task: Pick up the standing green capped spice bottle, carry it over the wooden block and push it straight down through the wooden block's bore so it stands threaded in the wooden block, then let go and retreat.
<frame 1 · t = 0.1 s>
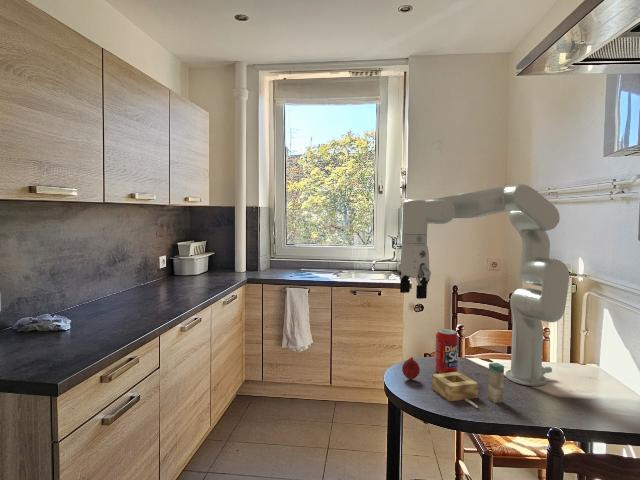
hand: (412, 295, 128), 31 cm above the table, fingers open, 9 cm apart
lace: (471, 404, 123), on the table
onion: (410, 380, 141), on the table
wooden block: (453, 392, 131), on the table
soda can: (445, 372, 149), on the table
green capped spice bottle: (495, 400, 126), on the table
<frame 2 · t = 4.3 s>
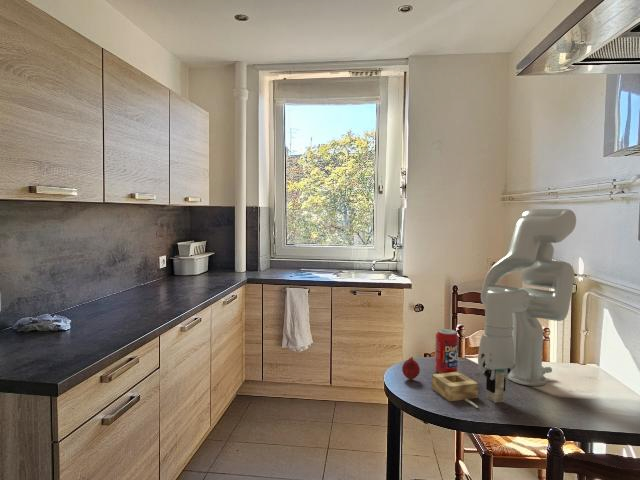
hand: (495, 389, 126), 3 cm above the table, fingers closed on green capped spice bottle, 3 cm apart
green capped spice bottle: (495, 400, 126), on the table, touching gripper
everything else where it was.
when the fingers open (5 cm above the table, at t = 9.2 s): green capped spice bottle stays where it is, on the table.
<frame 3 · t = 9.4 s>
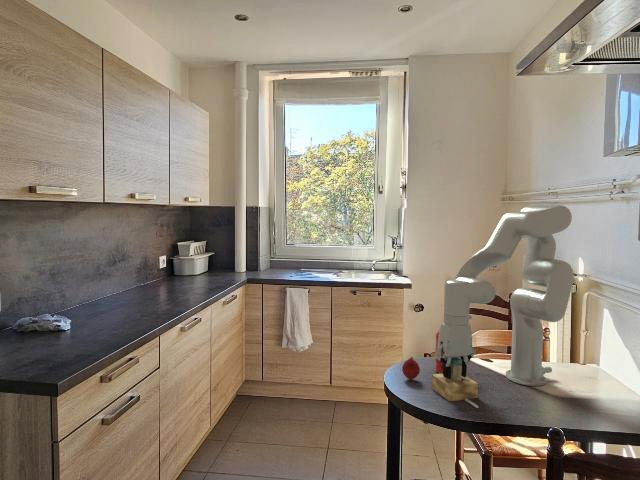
hand: (454, 376, 131), 5 cm above the table, fingers open, 4 cm apart
green capped spice bottle: (453, 392, 132), on the table
everything else where it was.
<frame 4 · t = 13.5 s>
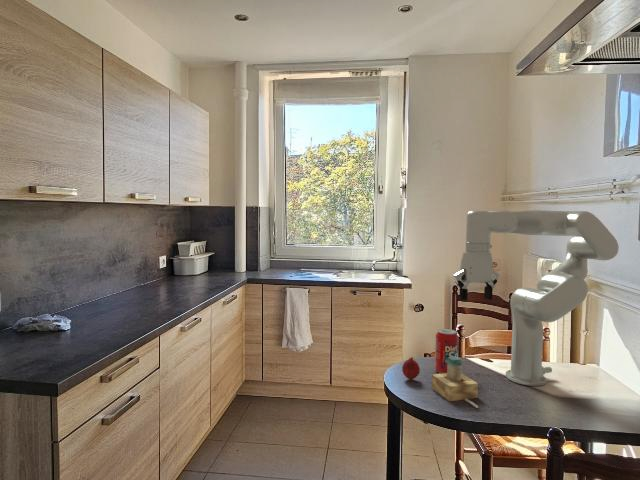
hand: (475, 299, 138), 28 cm above the table, fingers open, 9 cm apart
nothing on the table moved.
at the end: green capped spice bottle 0.4 cm off-centre on the wooden block, point 0.0 cm above the wooden block's base; green capped spice bottle tilted 0°; the gripper is holding nothing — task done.
